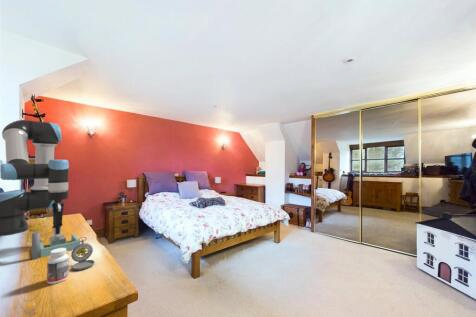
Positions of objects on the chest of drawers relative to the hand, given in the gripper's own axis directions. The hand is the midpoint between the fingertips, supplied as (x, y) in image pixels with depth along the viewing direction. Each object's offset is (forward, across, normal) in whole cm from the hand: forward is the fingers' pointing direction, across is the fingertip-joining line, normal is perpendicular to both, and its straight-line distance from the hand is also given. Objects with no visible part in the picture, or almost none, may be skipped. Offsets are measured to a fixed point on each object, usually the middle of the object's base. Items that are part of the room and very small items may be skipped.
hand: (57, 240), depth 99 cm
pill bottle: (+2, +42, -4) cm, 42 cm away
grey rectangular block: (+2, +4, 0) cm, 5 cm away
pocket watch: (+2, +36, +4) cm, 36 cm away
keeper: (+2, +7, -1) cm, 8 cm away
